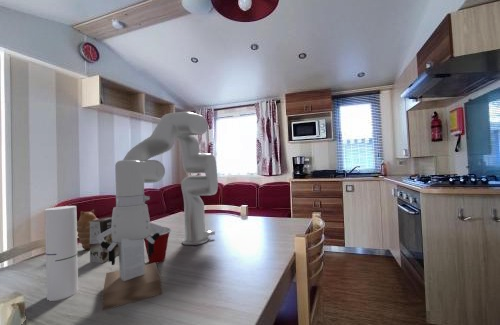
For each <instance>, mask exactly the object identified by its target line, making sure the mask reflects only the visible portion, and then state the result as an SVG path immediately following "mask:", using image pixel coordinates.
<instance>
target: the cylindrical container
mask: <svg viewBox="0 0 500 325" xmlns="http://www.w3.org/2000/svg"><path fill="white" fill-rule="evenodd" d="M77 215H78V214H77V205H65V206H56V207H47V208H45V209H44V220H45V221H44V226H45V227H44V228H45V230H44V232H45V235H44V236H45V271H46V272H45V275H46V277H45V279H46V285H45V286H46V300H47V301H48V300H49V302H55V301H61V300H64V299H67V298H69V297H71V296H73V295H75V294H76V293H78V291H79V266H78V265H79V261H78V232H77V222H78V218H77V217H78V216H77Z"/></svg>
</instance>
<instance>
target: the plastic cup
mask: <svg viewBox="0 0 500 325" xmlns="http://www.w3.org/2000/svg"><path fill="white" fill-rule="evenodd" d="M162 228H163V229H162V231H161V233H160V235H159V237H158V238H157V239H156V240H155V242H154V243H153V245H154V253H151V254H152V257H149V256H148V242H149V241H148V240H147V239H146V238H145V239H144V247H145V250H146V255H147V259H148V262H149V264H151V263H156V264H158V263H161V262H164V261H165V260H166V255H167V250H168V248H167V247H168V241H169V237H170V233H171V231H172V228H170V227H169V226H162ZM156 231H157V230H156V229H154V228H151V227H150V235H151V236H153V235H154V234H155V233H156Z"/></svg>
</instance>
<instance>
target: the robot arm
mask: <svg viewBox="0 0 500 325" xmlns="http://www.w3.org/2000/svg"><path fill="white" fill-rule="evenodd" d="M207 130H208V122H207V119H206V118H205V117H204V116H203V115H201V114H197V113H194V112H191V111H181V112H180V111H178V112H170V113H166V114H163V115H162V116H161V118H160V120H159V122H158V123H157V125H156V127H155V128H154V130H153V131H152V134H150V136H149V137H147V138H145V139H143V140H142V141H141V142H139V143H137V144H136V145H135V146H133V147H132V148H131V149H130V150H129V151H128V152H127V153H126V155H124V158H123V159H122V160H118V161H116V162H115V164H114V167H115V168H114V174H115V175H114V176H115V178H114V179H115V206H114V207H113V209H112V213H111V217H112V226H111V228H110V229H108V230H106V231H104V232H103V233H101V234H99V235H98V236H97V237H96V239H97V240H98V242H99V243H100V244H101V246H102V247H104V248H105V249H107V251H109V260H108V262H111V266H115V263H116V257H115V248H114V247H115V245H116V244H117V243H121V239H123V238H128V239H129V240H140V239H145V238H146V239H147V240H148V241H149V242H148V255H147V257H148V256H149V257H152V254H151V253H154V245H153V243H154V242H155V240H156V239H157V238H158V237H159V235H160V233H161V231H162V229H163V228H162V227H163V226H162V225H160V224H157V223H153V222H151V221H150V214H149V207H148V204H146V202H148V201H150V199H151V197H150V195H148V196H147V195H145V184H150V183H157V182H159V181H161V180H162V179H164V176H165V174H166V168H165V165H164V164H163V163H162V162H161V161H159V160H157V159H151V158H154V157H157V156H160V155H162V154H164V153H168V151H170V150H171V149H172V148H173V146H174V145H175V141H176V140H178V142H179V143H180V147H181V159H182V168H183V171H184V172H185V173H187V174H205V175H191V176H190V175H189V176H186V177H184V178H183V179H182V181H181V183H180V187H181V192H182V197H183V209H184V211H183V214H184V238H182V240H181V243H182V244H183V245H185V246H195V245H196V246H197V245H202V244H205V243H207V242H208V241H209V238H210V236H213V235H216V232H215V230H212V231H211V230H208V231H207V230H206V223H205V220H206V218H205V216H206V215H205V203H204V201H203V199H202V198H201V196H214V195H216V194H217V192H218V189H219V187H218V186H219V183H218V167H217V160H216V157H215V155H213V153H210V152H209V153H208V152H202V153H201V151H200V149H201V148H200V142H199V141H198V139H197V137H196V136H200V135H204V134H206V132H207ZM150 228H154V229H156V230H157V231H156V233H155V234H154V235H153V236H151V235H150ZM109 234H111V237H112V241H111V243H110V244H109V243H108V242H106V241H105V240H104V237H106V236H107V235H109Z"/></svg>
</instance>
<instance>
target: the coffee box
mask: <svg viewBox="0 0 500 325" xmlns="http://www.w3.org/2000/svg"><path fill="white" fill-rule="evenodd" d="M111 226H112V216H107V217H102V218H98V219H97V220H93V221H90V249H89V262H90V263H99V264H103V263H105V262H107V261H108V262H109V251H107V249H105V248H104V247H102V246H101V244H100V243H99V242H98V240H97V239H96V237H97V236H98V235H99V234H101V233H103V232H104V231H106V230H108V229H110V228H111ZM104 240H105V241H106V242H108V243H109V244H110V243H111V241H112V237H111V234H109V235H107V236H106V237H104ZM114 248H115V258H116V257H117V256H118V257H119V245H118V243H117V244H116V245H115V247H114Z"/></svg>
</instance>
